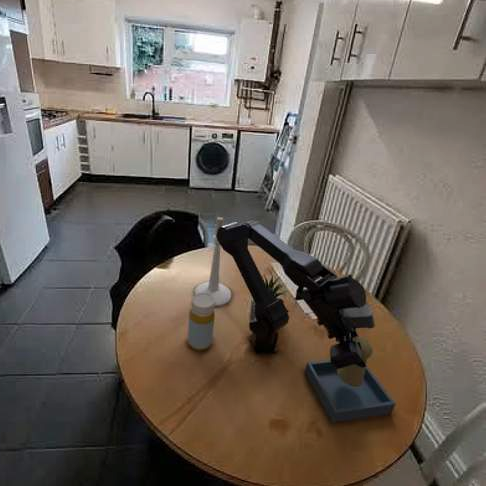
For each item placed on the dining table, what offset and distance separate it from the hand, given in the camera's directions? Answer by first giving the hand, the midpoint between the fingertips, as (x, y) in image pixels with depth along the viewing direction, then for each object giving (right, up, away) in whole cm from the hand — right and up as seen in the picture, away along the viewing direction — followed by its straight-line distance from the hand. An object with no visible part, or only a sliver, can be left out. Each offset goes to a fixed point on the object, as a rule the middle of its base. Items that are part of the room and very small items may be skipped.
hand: (363, 358), depth 74 cm
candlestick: (-36, +5, +36) cm, 51 cm away
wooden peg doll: (-2, -6, +3) cm, 7 cm away
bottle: (-40, -3, +15) cm, 42 cm away
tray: (-3, -10, +4) cm, 11 cm away
